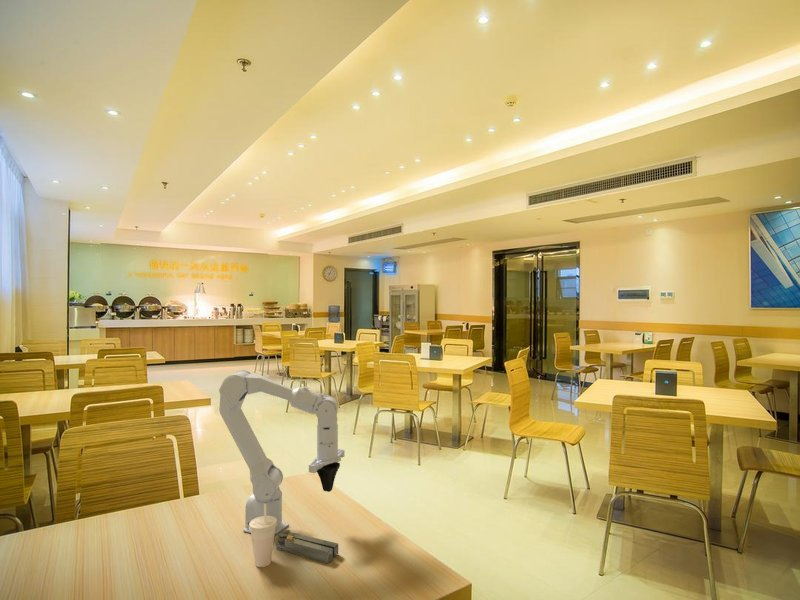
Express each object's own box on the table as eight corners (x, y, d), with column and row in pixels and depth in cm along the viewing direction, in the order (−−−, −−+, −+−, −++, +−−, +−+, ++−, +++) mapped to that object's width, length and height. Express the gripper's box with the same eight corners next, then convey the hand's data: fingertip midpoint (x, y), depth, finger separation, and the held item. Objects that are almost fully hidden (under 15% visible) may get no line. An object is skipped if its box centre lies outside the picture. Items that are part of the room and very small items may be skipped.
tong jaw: (276, 544, 113) (276, 533, 113) (283, 538, 116) (283, 528, 116) (333, 558, 106) (333, 547, 106) (339, 552, 109) (339, 542, 109)
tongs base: (271, 547, 112) (271, 533, 112) (284, 539, 116) (283, 525, 116) (328, 563, 105) (328, 548, 105) (339, 554, 109) (339, 539, 109)
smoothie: (268, 572, 102) (268, 510, 102) (243, 568, 103) (243, 508, 103) (281, 556, 108) (281, 498, 108) (257, 553, 109) (257, 496, 109)
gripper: (324, 450, 115) (324, 503, 115) (353, 435, 128) (353, 483, 128) (302, 447, 118) (302, 498, 118) (332, 433, 131) (333, 479, 131)
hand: (327, 490), depth 123 cm, fingers closed
